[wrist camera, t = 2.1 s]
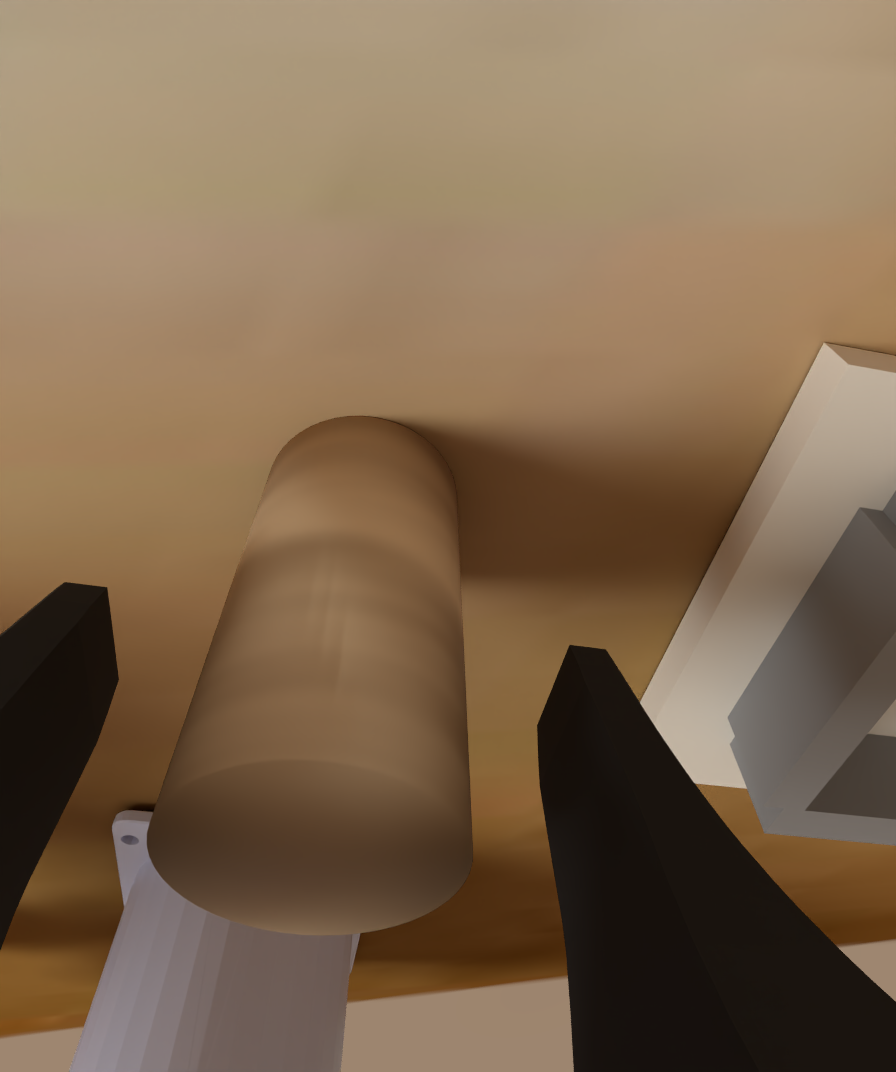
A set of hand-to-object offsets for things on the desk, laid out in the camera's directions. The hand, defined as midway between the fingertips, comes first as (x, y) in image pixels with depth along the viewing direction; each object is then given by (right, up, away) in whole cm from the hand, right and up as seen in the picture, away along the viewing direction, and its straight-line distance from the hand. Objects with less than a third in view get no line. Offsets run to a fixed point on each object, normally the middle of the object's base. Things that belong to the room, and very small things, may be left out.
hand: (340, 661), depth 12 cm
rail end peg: (0, +3, +4) cm, 5 cm away
